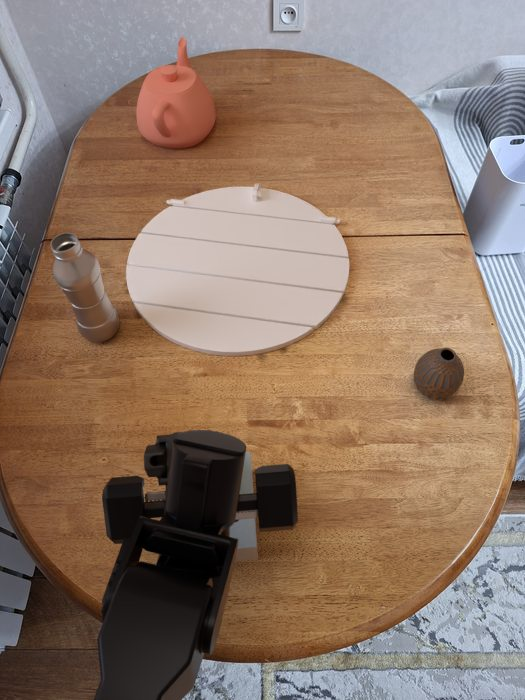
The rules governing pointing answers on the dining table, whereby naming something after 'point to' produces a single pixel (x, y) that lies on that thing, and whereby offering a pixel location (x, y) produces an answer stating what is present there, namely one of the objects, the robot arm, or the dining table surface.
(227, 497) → the robot arm
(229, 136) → the dining table surface
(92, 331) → the plastic bottle
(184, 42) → the teapot
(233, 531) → the cistern
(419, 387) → the vase
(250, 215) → the lazy susan
